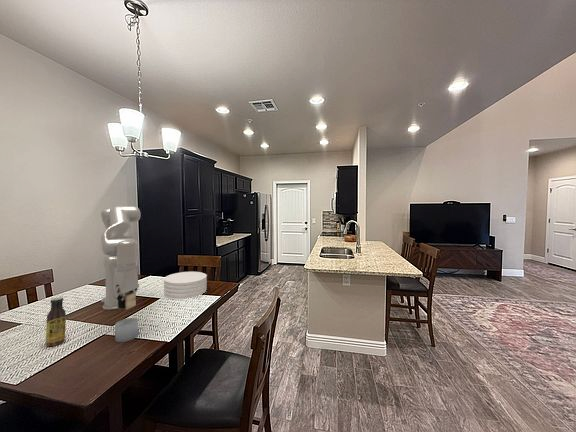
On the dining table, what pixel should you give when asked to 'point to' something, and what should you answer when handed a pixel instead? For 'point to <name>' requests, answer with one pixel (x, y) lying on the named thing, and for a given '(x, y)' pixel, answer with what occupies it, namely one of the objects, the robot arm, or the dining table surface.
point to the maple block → (129, 300)
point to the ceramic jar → (126, 329)
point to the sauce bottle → (56, 323)
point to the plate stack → (185, 285)
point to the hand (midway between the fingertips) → (126, 305)
